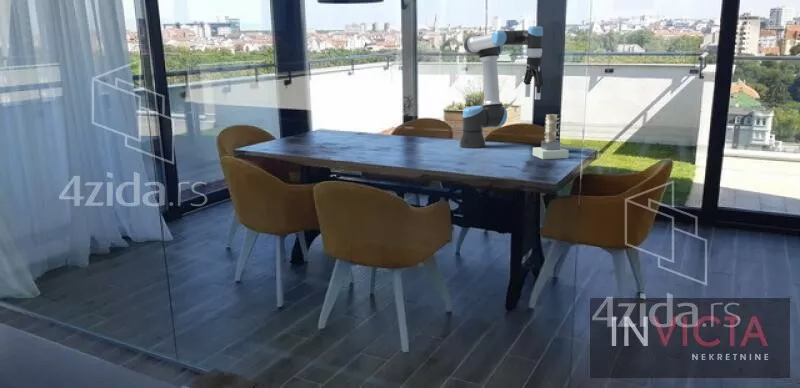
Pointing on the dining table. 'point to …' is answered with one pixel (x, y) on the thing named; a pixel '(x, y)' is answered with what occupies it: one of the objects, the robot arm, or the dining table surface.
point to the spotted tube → (556, 128)
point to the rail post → (551, 127)
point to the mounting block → (550, 153)
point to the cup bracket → (550, 145)
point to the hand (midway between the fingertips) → (532, 98)
